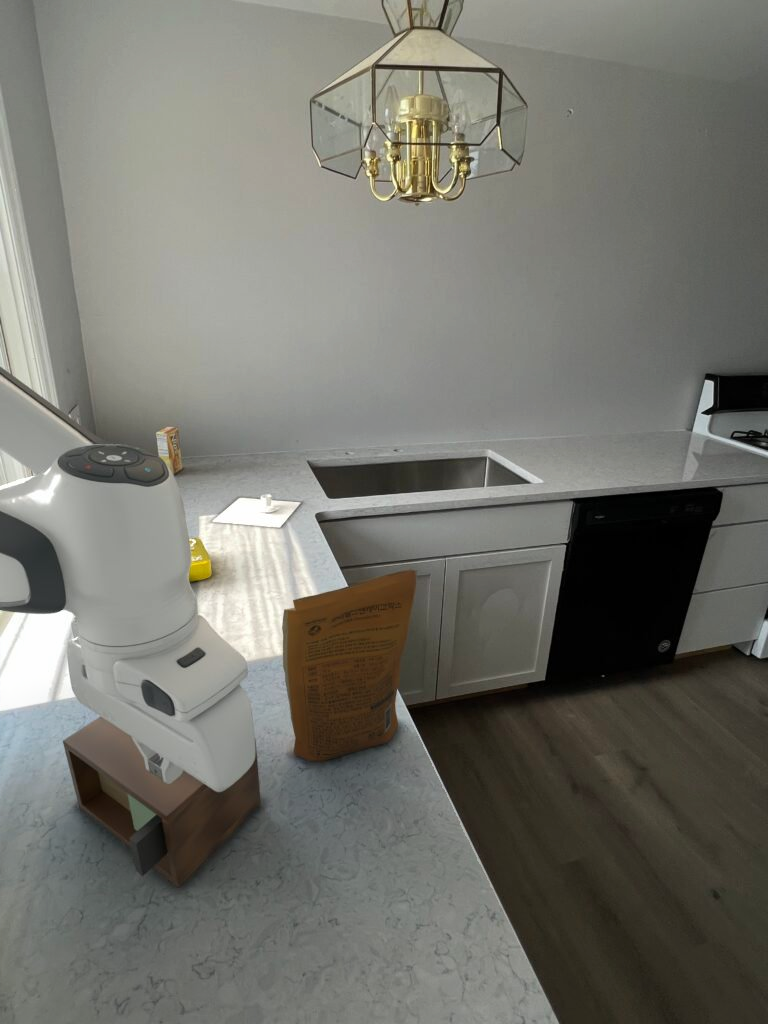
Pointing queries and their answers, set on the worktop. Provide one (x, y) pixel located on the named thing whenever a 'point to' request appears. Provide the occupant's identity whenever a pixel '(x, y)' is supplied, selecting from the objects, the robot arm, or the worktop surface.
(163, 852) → the sliding door
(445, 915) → the worktop surface
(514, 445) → the worktop surface
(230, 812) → the brown wooden box
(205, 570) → the yellow box
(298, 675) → the pancake mix bag
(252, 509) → the teacup and saucer
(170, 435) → the candy box
